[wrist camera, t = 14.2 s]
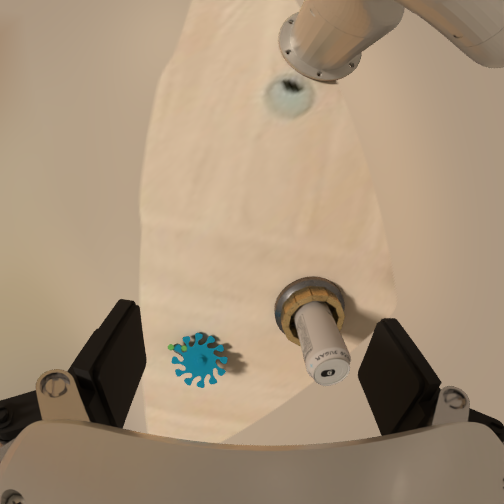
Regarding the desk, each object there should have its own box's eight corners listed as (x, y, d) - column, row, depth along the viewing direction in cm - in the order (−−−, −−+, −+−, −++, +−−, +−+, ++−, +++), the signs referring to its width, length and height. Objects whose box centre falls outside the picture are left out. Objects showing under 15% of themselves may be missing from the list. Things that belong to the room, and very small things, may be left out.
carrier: (279, 274, 46) (282, 287, 42) (349, 279, 47) (357, 291, 42) (270, 334, 50) (272, 349, 46) (333, 336, 51) (339, 351, 47)
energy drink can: (326, 324, 48) (351, 384, 34) (293, 327, 48) (307, 391, 34) (328, 294, 46) (357, 352, 32) (292, 298, 46) (309, 359, 32)
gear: (237, 349, 49) (212, 397, 45) (230, 351, 55) (207, 394, 50) (183, 319, 49) (156, 366, 44) (181, 323, 54) (157, 366, 49)
